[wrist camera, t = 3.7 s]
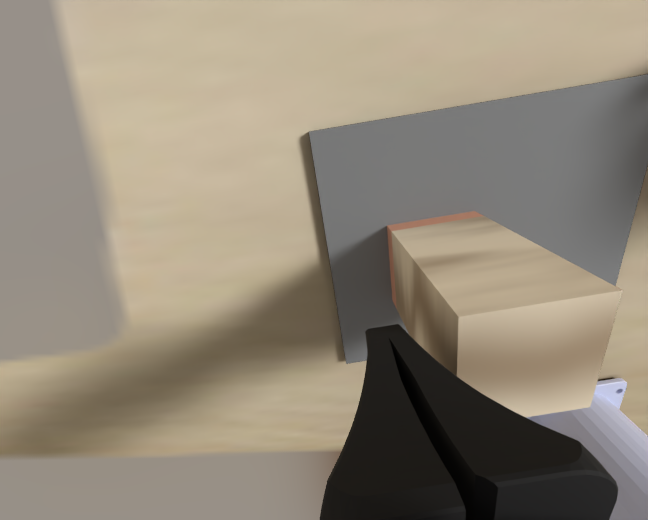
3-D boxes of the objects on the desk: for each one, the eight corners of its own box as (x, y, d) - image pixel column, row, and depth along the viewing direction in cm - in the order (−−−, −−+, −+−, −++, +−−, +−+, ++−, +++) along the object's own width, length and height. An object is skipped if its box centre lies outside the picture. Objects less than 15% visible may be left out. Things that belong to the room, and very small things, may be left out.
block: (470, 287, 20) (590, 407, 12) (392, 300, 20) (455, 428, 12) (474, 210, 18) (622, 290, 9) (386, 225, 18) (458, 316, 10)
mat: (599, 317, 22) (605, 321, 21) (345, 358, 22) (346, 363, 22) (662, 71, 16) (672, 70, 15) (308, 131, 16) (308, 131, 15)
